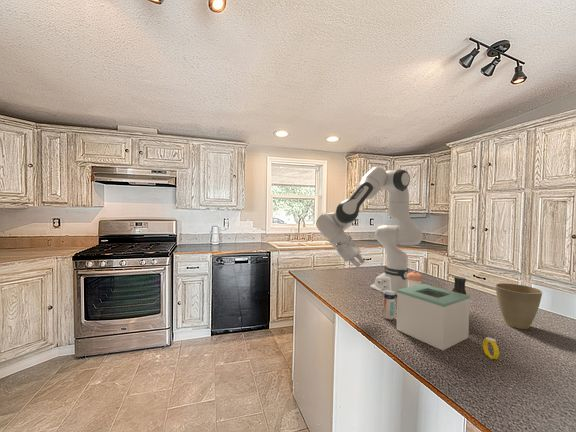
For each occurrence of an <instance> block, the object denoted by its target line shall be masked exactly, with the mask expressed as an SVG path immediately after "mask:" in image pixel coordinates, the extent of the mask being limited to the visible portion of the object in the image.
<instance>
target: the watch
mask: <svg viewBox="0 0 576 432" xmlns="http://www.w3.org/2000/svg"><path fill="white" fill-rule="evenodd" d="M489 343H490V344H491V346H492V349H493V355H492V354H491V352H490V351H489V346H488V344H489ZM482 349H483V352H484V354H485V355H486V356H487V357H488V358H489V359H490V360H497V359H499V356H500V351H499V347H498V345H497V339H495V338H494V337H493V338H492V337H489V336H487V337H485V338H484V339H483V341H482Z"/></svg>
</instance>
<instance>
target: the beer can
mask: <svg viewBox="0 0 576 432" xmlns="http://www.w3.org/2000/svg"><path fill="white" fill-rule="evenodd" d="M382 293H383V292H382ZM382 295H383V298H382V299H383V300H382V301H383V304H382V306H383V307H382V316H383V318H384V319H386V320H394V319H395V315H396V314H395V310H396V306H395V305H396V295H395V293H394V291H392V290H385V291H384V293H383V294H382Z"/></svg>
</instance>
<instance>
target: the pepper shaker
mask: <svg viewBox="0 0 576 432" xmlns="http://www.w3.org/2000/svg"><path fill="white" fill-rule="evenodd" d="M407 279H408V287H412V286H416V285H420V284H422V281H423V280H424V276H423V275H422V273H419V272H417V271H416V270H413V271H412V272H408V274H407Z"/></svg>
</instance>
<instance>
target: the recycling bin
mask: <svg viewBox="0 0 576 432" xmlns="http://www.w3.org/2000/svg"><path fill="white" fill-rule="evenodd" d="M470 299H471V296H470V295H468V294H467V295H465V294H461V293H457V292H454V291H452V290H449V289H447V288H441V287H437V286H433V285H431V284H430V285H429V284H426V283H421V284H420V285H416V286H412V287H408V288H403V289H399V290H397V295H396V331H399V332H401V333H403V334H405V335H408V336H410V337H412V338H414V339H416V340H419V341H420V342H423V343H426V344H428V345H430V346H432V347H433V348H436V349H438V350H441V351H445V350H447V349H448V348H451V347H452V346H455V345H456V344H459V343H461V342H463V341H464V340H467V339H468V338H469V333H470V331H469V330H470V305H471V304H470V303H471V301H470Z"/></svg>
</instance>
